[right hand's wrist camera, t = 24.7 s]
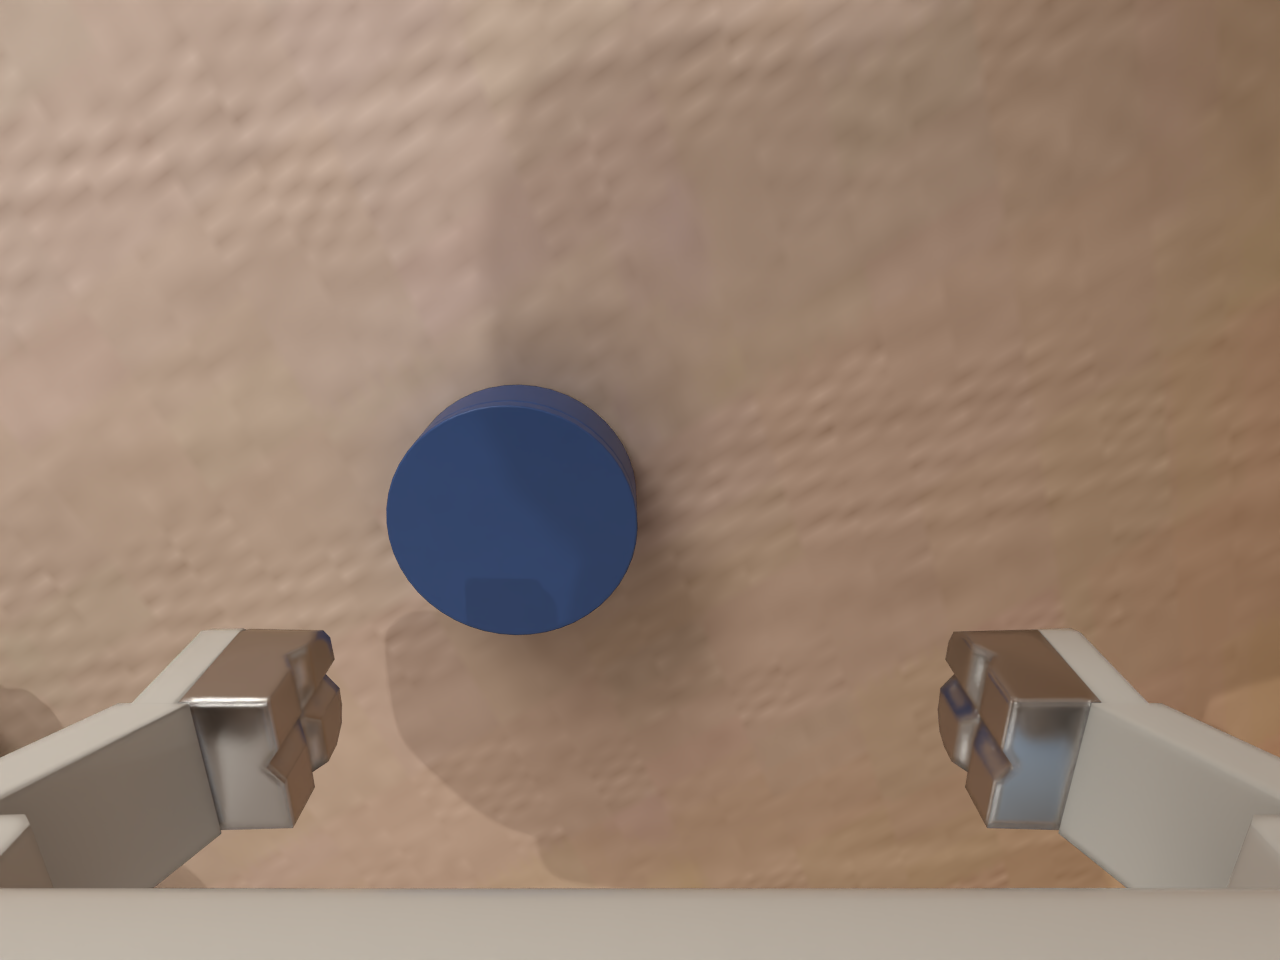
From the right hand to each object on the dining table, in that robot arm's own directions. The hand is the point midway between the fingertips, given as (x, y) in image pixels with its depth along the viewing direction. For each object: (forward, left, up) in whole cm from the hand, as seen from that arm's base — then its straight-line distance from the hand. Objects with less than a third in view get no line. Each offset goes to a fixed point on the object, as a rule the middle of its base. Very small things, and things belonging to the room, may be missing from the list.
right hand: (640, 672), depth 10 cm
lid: (+2, -1, -6) cm, 7 cm away
